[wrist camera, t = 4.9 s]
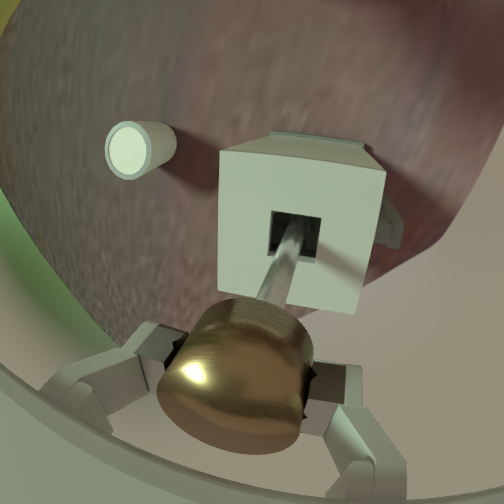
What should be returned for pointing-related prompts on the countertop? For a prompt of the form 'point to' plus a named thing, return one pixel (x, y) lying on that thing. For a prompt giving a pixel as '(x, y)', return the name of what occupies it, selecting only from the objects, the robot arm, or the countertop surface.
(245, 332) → the plunger
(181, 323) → the countertop surface
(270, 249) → the block
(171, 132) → the shot glass
